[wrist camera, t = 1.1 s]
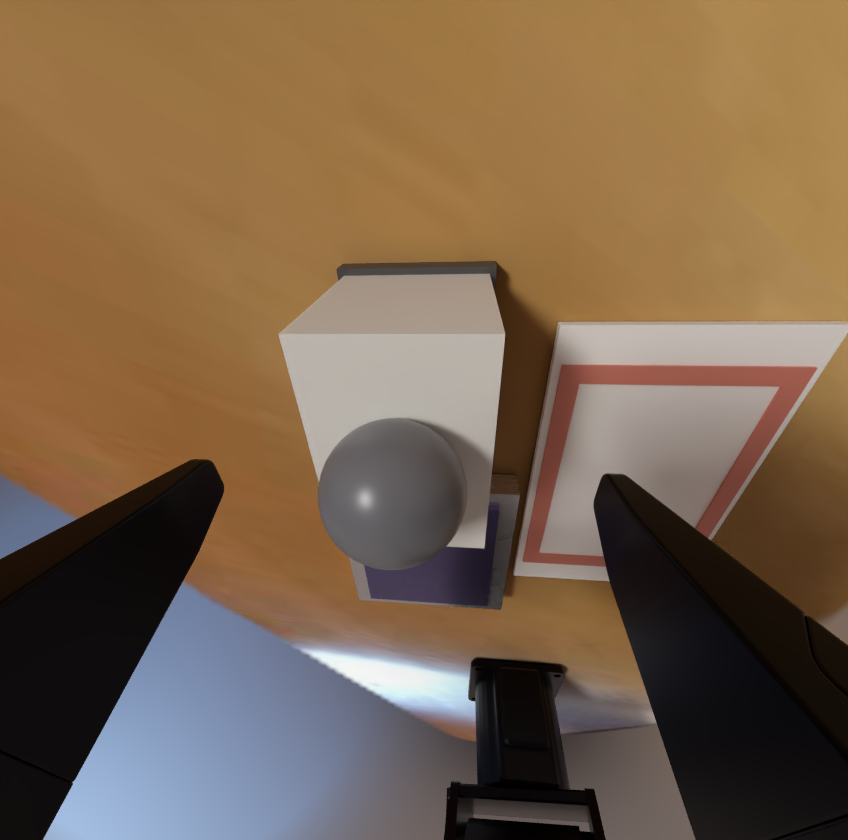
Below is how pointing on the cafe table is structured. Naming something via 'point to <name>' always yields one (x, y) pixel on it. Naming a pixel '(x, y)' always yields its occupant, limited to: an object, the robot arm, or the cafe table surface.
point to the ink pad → (454, 564)
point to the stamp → (401, 406)
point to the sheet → (659, 423)
